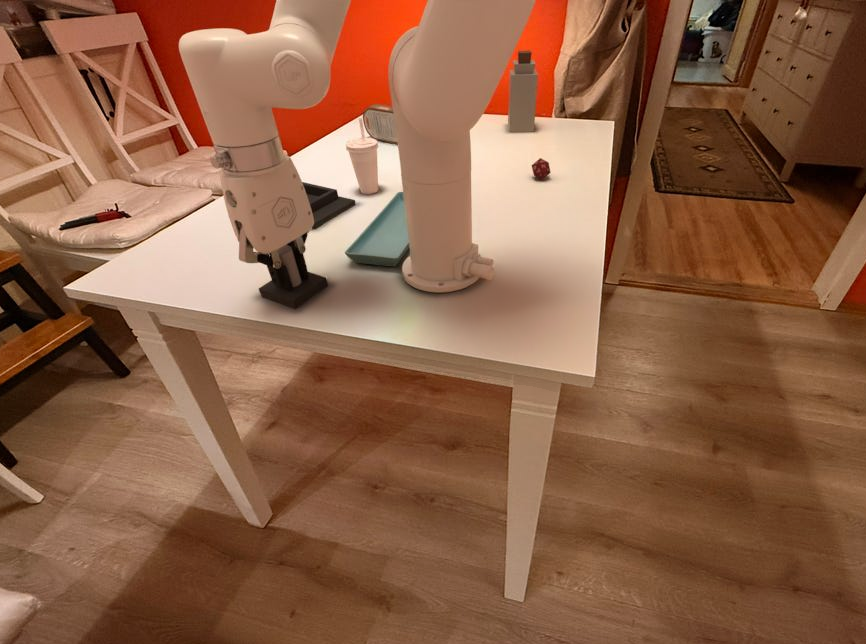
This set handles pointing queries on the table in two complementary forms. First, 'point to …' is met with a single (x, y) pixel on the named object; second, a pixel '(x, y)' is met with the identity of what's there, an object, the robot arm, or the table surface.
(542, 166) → the dice
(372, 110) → the tin
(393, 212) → the teal serving tray
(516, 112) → the perfume bottle
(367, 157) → the smoothie
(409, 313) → the table surface
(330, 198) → the base pad
